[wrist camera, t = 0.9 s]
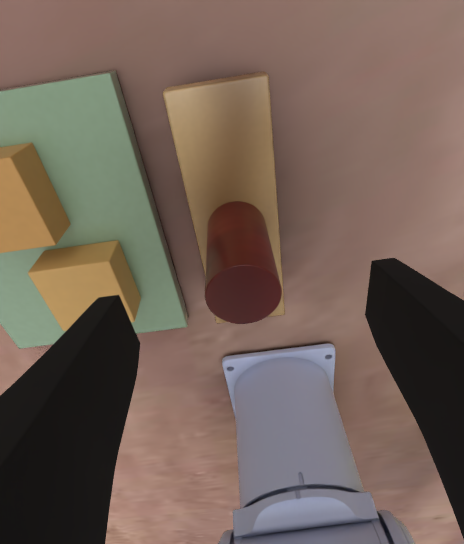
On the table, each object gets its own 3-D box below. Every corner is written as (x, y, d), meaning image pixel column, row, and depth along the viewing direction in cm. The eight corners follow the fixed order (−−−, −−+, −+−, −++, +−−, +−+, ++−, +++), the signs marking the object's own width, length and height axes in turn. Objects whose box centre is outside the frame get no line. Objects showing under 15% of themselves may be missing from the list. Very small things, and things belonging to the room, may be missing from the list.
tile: (188, 316, 22) (187, 327, 22) (25, 337, 23) (18, 349, 22) (115, 69, 14) (109, 72, 13) (-136, 112, 15) (-156, 117, 14)
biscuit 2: (141, 298, 20) (135, 322, 18) (75, 306, 20) (62, 331, 19) (118, 239, 18) (108, 261, 16) (43, 249, 18) (26, 272, 16)
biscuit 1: (71, 224, 17) (56, 245, 15) (-7, 235, 17) (-29, 257, 16) (32, 141, 15) (10, 156, 13) (-57, 156, 15) (-90, 172, 13)
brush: (260, 65, 14) (294, 100, 8) (277, 283, 21) (303, 392, 15) (170, 80, 14) (136, 124, 8) (216, 291, 21) (216, 402, 15)
